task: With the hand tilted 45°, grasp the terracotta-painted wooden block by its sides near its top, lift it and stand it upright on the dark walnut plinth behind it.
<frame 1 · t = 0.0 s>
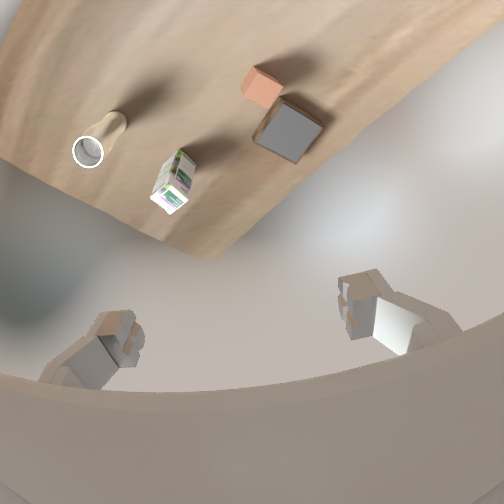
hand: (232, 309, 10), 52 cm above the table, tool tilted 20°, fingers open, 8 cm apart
syrup box: (179, 163, 60), on the table
terracotta block: (257, 81, 48), on the table
walnut plinth: (286, 127, 56), on the table
beer glass: (115, 123, 51), on the table
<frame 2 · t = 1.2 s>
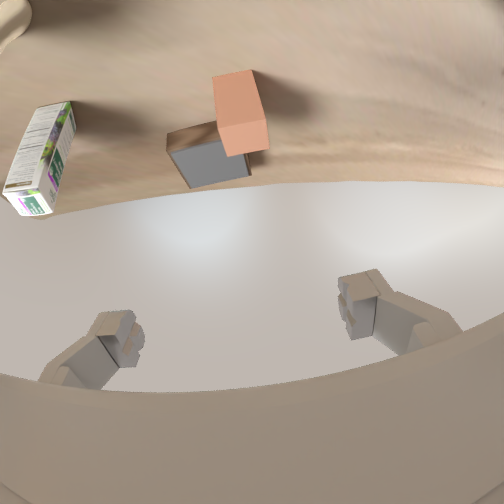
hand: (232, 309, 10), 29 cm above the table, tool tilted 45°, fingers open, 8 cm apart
syrup box: (57, 116, 28), on the table
terracotta block: (235, 87, 32), on the table
walnut plinth: (210, 146, 42), on the table
beer glass: (12, 17, 11), on the table
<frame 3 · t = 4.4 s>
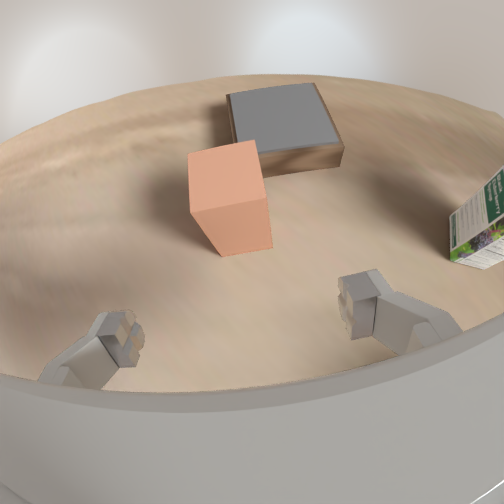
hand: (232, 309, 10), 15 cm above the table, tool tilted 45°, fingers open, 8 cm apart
syrup box: (466, 243, 25), on the table
terracotta block: (243, 228, 28), on the table
walnut plinth: (281, 136, 31), on the table
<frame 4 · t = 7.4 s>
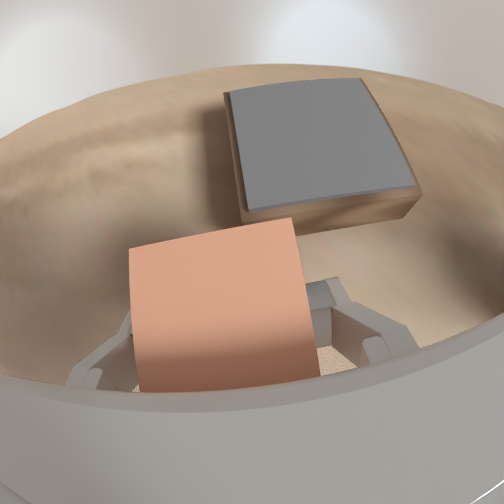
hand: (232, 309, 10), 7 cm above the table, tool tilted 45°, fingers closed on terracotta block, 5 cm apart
terracotta block: (254, 329, 17), on the table, touching gripper
walnut plinth: (312, 162, 20), on the table
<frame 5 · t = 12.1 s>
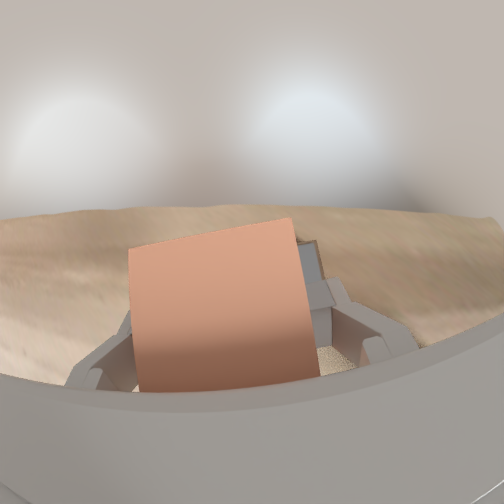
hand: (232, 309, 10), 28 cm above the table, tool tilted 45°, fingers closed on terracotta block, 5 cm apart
terracotta block: (254, 329, 17), point 21 cm above the table, touching gripper
walnut plinth: (283, 291, 39), on the table
when the fingers open (12 cm above the table, at t = 16.8 s): terracotta block drops 1 cm, resting on walnut plinth.
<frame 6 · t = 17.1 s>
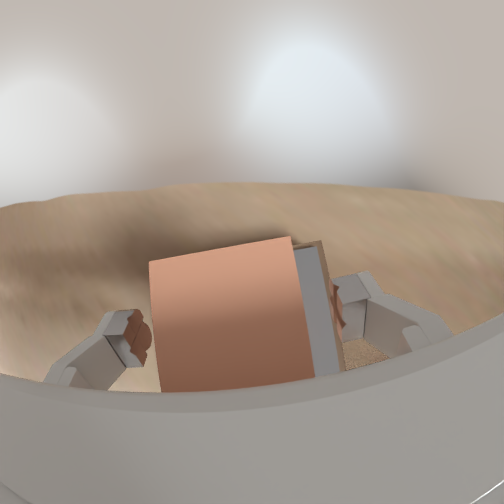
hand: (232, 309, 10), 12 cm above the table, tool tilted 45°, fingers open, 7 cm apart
terracotta block: (256, 330, 18), point 4 cm above the table, touching walnut plinth
walnut plinth: (261, 330, 22), on the table
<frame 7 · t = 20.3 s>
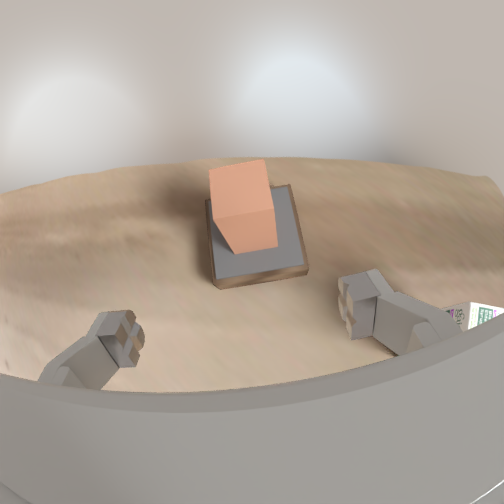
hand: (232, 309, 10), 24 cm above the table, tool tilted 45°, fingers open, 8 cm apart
syrup box: (418, 339, 30), on the table
terracotta block: (253, 230, 32), point 4 cm above the table, touching walnut plinth
walnut plinth: (256, 241, 36), on the table
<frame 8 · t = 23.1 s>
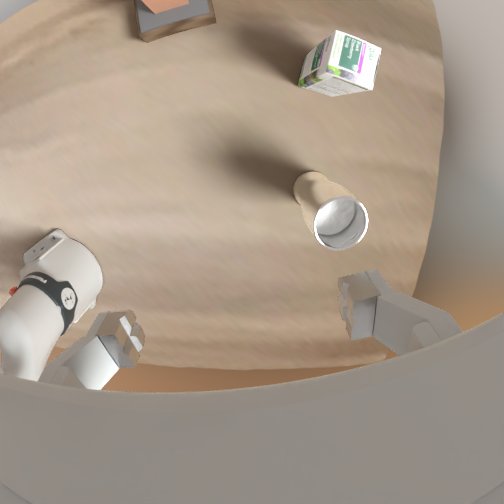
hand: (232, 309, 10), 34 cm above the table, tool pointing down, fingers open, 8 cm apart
syrup box: (319, 76, 34), on the table
walnut plinth: (175, 5, 28), on the table
beer glass: (311, 189, 43), on the table
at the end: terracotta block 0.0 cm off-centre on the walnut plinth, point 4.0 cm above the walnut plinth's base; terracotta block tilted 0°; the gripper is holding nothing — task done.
